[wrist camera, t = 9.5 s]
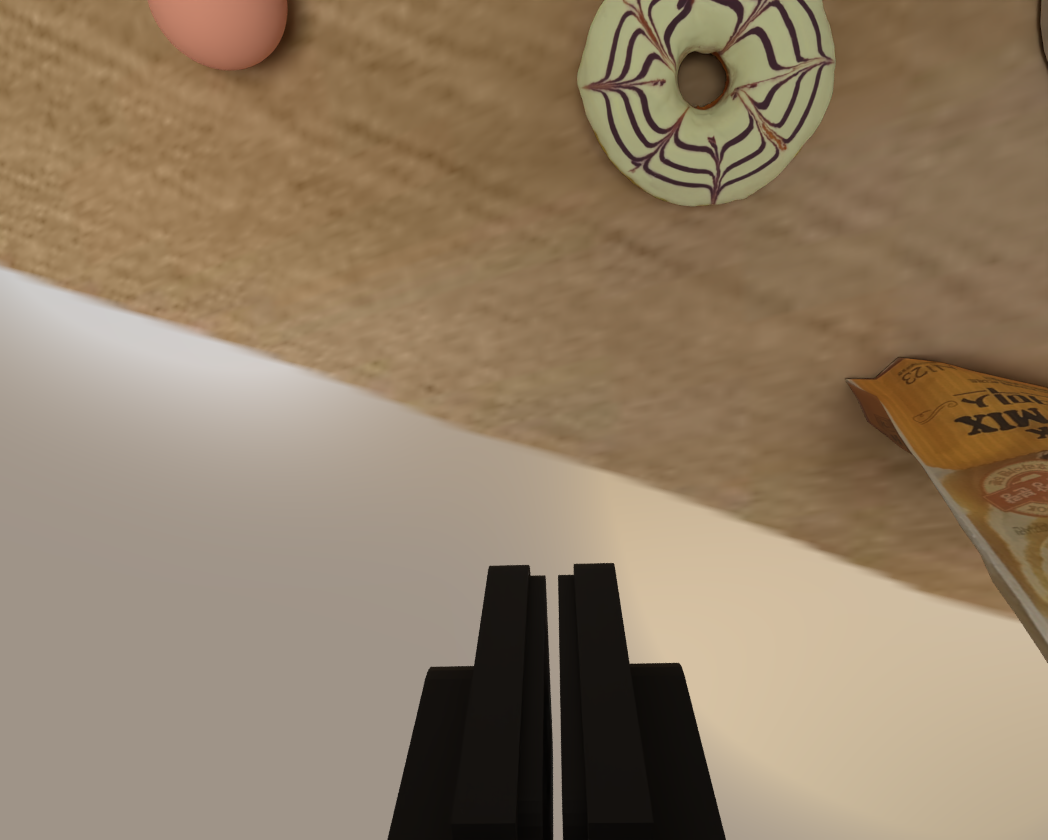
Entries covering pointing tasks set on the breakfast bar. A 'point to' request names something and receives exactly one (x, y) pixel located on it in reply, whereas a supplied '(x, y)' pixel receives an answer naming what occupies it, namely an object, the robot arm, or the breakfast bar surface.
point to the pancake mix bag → (978, 465)
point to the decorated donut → (728, 122)
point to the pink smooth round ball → (222, 29)
